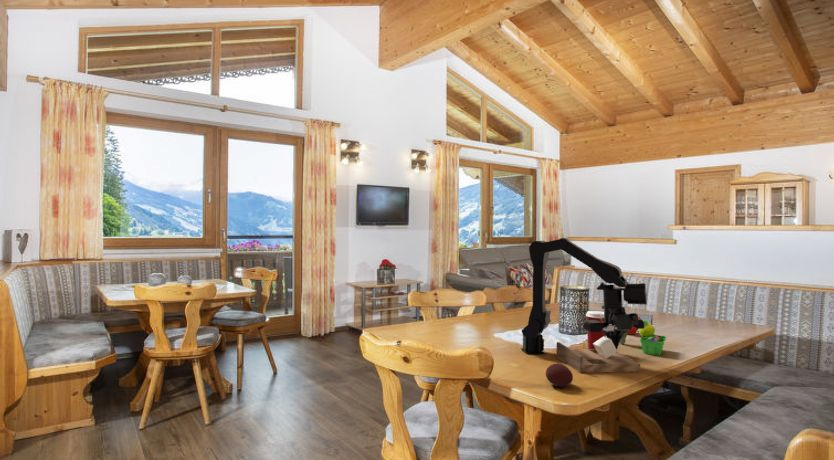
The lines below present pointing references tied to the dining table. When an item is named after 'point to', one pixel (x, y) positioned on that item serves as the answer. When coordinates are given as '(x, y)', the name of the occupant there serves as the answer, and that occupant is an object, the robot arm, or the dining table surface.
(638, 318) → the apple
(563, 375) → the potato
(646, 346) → the fruit basket
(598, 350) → the block
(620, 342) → the light bulb
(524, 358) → the dining table surface
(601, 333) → the paper cup
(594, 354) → the trap board
